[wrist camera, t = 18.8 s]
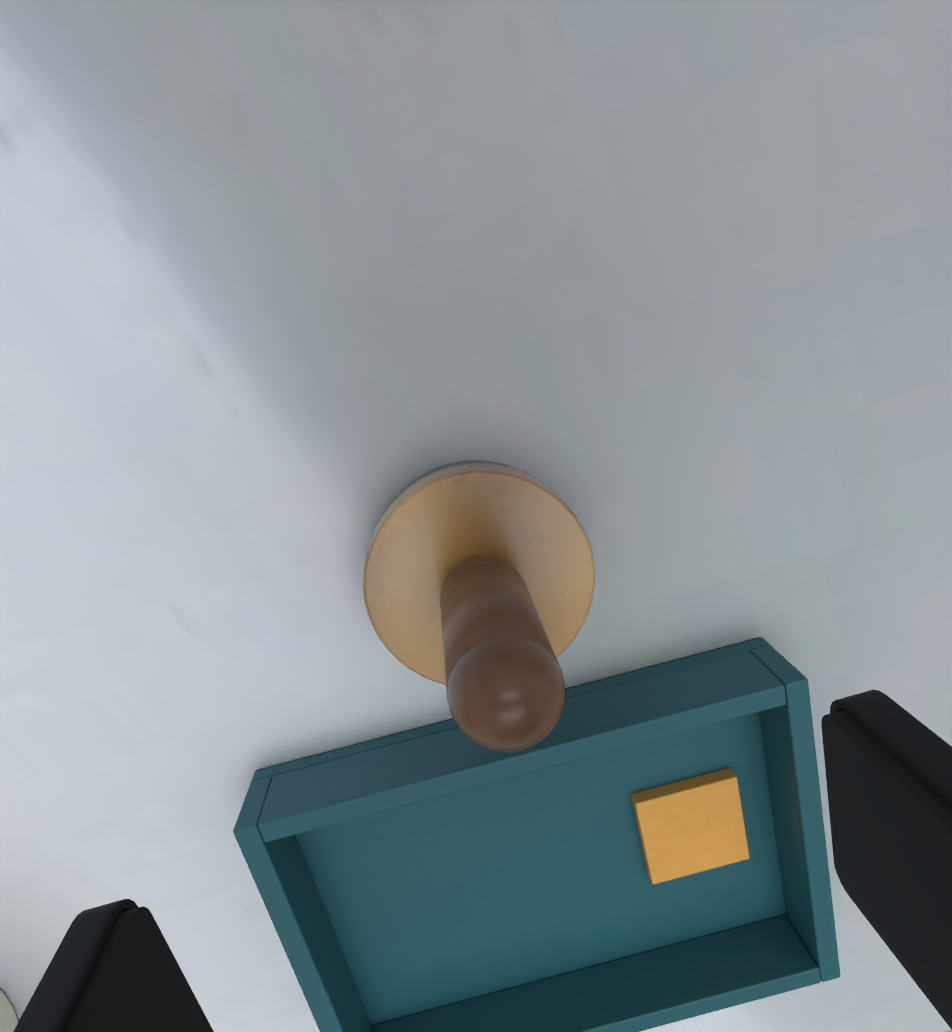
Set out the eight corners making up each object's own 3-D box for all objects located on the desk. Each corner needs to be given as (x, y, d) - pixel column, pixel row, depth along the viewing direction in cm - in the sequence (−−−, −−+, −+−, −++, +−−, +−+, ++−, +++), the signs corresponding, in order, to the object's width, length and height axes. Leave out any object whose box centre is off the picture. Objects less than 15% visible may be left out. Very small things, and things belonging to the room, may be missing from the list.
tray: (360, 1028, 29) (353, 1109, 26) (254, 770, 25) (232, 831, 22) (797, 910, 29) (841, 977, 26) (762, 636, 25) (808, 678, 22)
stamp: (400, 671, 24) (388, 905, 14) (343, 484, 22) (284, 610, 12) (592, 622, 24) (709, 821, 14) (553, 431, 22) (658, 514, 12)
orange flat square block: (647, 873, 27) (652, 885, 26) (630, 793, 26) (635, 804, 25) (743, 847, 27) (750, 859, 26) (730, 766, 26) (737, 776, 25)
